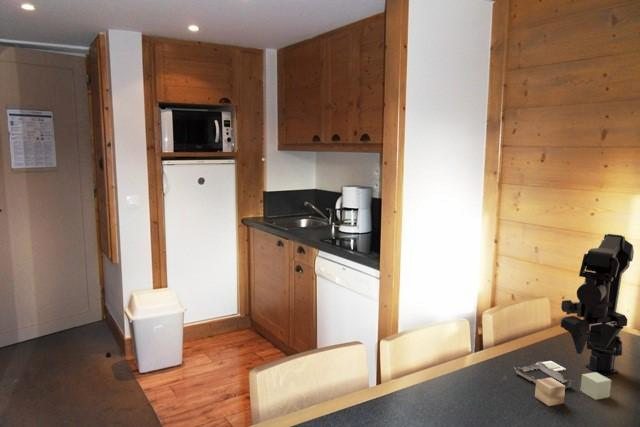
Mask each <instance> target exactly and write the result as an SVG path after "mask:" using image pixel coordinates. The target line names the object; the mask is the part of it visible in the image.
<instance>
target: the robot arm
mask: <svg viewBox="0 0 640 427" xmlns="http://www.w3.org/2000/svg"><path fill="white" fill-rule="evenodd" d="M599 244H600V245H598V247H595V248H593V247H592V248H590V249H589V250H587V252H586V253H584V255H583V258H582V262H581V267H580V269H579V273H578V274H579V275H578V277H582V278H584V282H583V283H582V284H581V285H579V287H578V288H577V290H576V297H577V299H578V301H573V300H571V299H569V300H568V299H565V300H562V301H561V307H560V308H561V310H562V312H563V313H566V315H571V316H565V317H563V318H561V319H560V328H563V329H564V330H565V331H567V332H568V333H569V334H570V336H571V338H572V341H573V344H574V348H575V352H576V354H579V355H582V353H583V351H584V348H585V347H586V349H587V350H591V352H590V356H589V364H585V367H586V368H587V369H590V370H591V371H593V372H596V373H598V374H600V375H602V376H605V375H606V376H607V375H612V374H618V373H619V370H617V369H615V368H614V367H615V358H616V357H617V358H618V357H619V356H622V355H623V341H622V340H621V339H622V338H621V336H620V332H621V330H623V329H624V327H627V326H628V321H629V320H628V318H627V316H626V315H625V314H623V313H619V312H617V307H618V302H619V296H620V288H621V282H622V276H623V274H624V273H625V272H626V271H627V270H628V269H629V267H630V263H631V262H633V261H634V260H633V259H634V254H635V252H634V245H633V244H632V243H630V242H629V241H628V240H626V237H625V236H624V235H622V234H621V235H620V234H615V233H614V234H613V233H607V234H606V233H605V234H604V236H603V239H602V240H601V243H599ZM572 301H573V302H572ZM572 314H573V315H572ZM574 314H575V315H576V316H574Z"/></svg>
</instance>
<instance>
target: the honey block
mask: <svg viewBox="0 0 640 427" xmlns="http://www.w3.org/2000/svg"><path fill="white" fill-rule="evenodd" d="M537 379H538V380H536V383H535V389H534V390H535V393H534V398H536V399H538V400H539V401H540V402H542V403H543V404H545V405H547V406H548V407H551V406H552V407H553V406H557V405H562V404H564V402H565V393H566V392H565V391H566V388H565V385H563V384H561V382H560V381H558V380H556V379H555V378H553V377H551V376H550V377H546V378H537Z"/></svg>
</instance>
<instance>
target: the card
mask: <svg viewBox="0 0 640 427" xmlns="http://www.w3.org/2000/svg"><path fill="white" fill-rule="evenodd" d="M540 362H541V363H543V364H545V365H546V367H548V368H549V369H553V370H554V371H555V372H563V370H564V371H566V370H567V368H565V367H564V366H561V365H560V364H558V363H556V362H554V361H552V360H548V361H540ZM535 364H536V365H538V362H536V363H535Z"/></svg>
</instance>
